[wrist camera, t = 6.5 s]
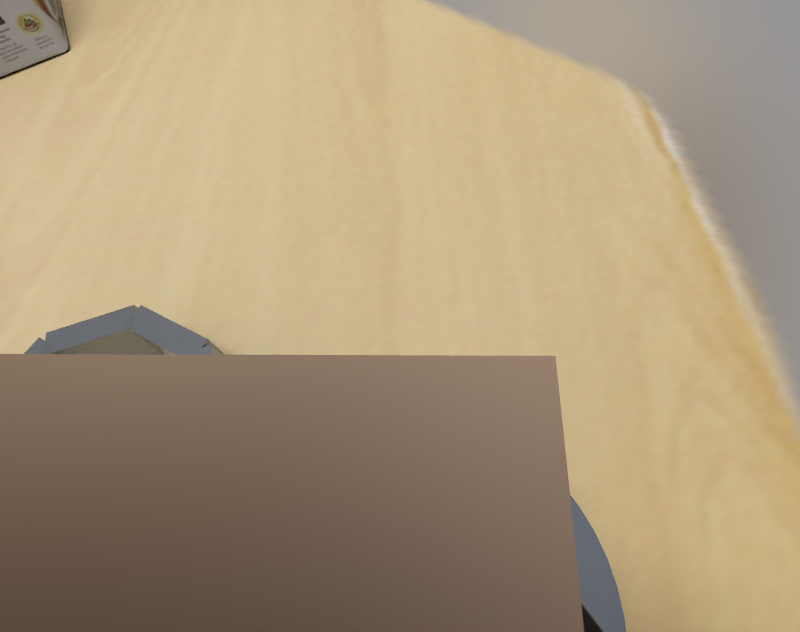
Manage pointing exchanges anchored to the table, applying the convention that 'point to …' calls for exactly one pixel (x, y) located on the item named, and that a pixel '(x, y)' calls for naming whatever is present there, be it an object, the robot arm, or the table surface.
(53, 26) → the coffee box
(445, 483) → the walnut peg
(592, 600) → the slate coaster
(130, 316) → the steel ring
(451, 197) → the table surface
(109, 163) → the table surface
